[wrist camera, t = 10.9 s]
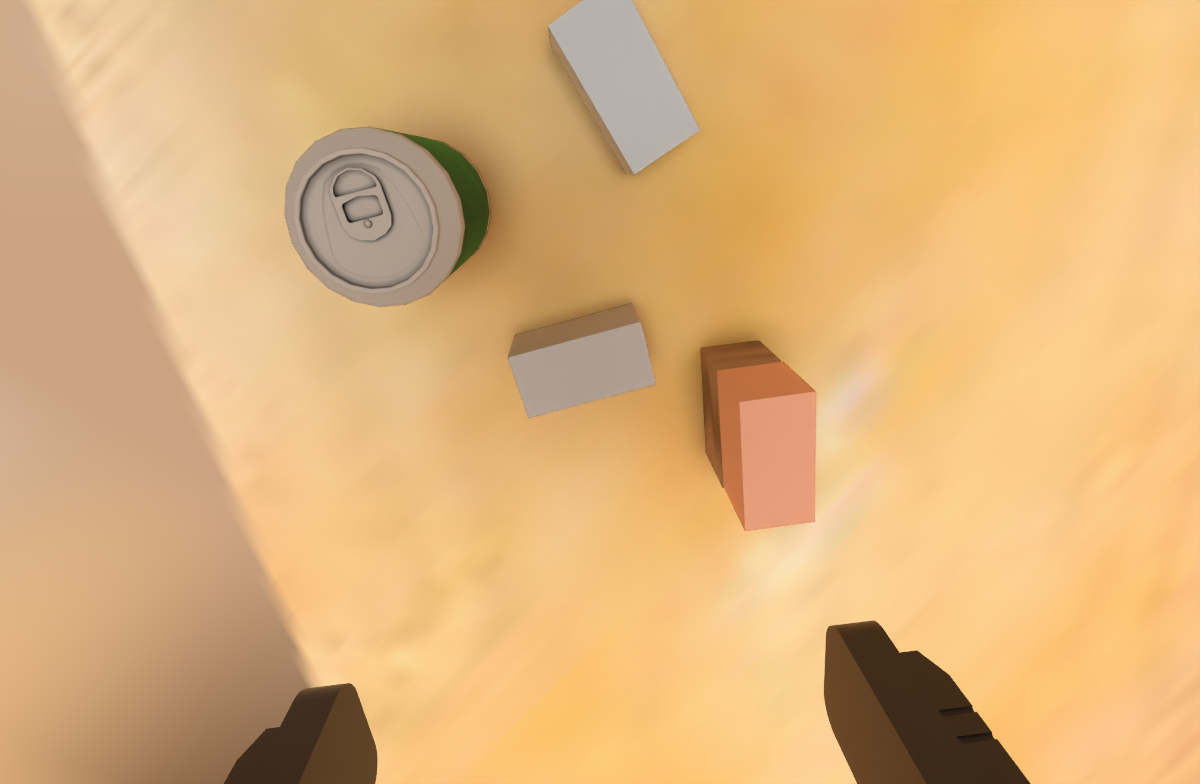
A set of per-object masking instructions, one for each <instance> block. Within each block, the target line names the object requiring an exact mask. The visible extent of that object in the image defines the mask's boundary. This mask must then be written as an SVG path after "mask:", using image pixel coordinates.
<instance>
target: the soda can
mask: <svg viewBox="0 0 1200 784" xmlns="http://www.w3.org/2000/svg"><path fill="white" fill-rule="evenodd" d="M490 214H491V210H490V203H489V196H488V190H487V188H486V186H485V184H484V182H483V180H482V178H481V175H480V173H479V171H478V170H477V169H476V168H475V167H474V165H473V164H472V163H471V162H470V161H469V160H468V159H467V158H466V156H465V155H464V154H462V153H461V152H459V151H457V150H456V149H454V148H452V147H451V146H449V145H448V144H446V143H443V142H439V141H435V140H431V139H427V138H423V137H418V136H413V135H408V134H403V133H398V132H393V131H388V130H383V129H378V128H373V127H361V128H349V129H340V130H338V131H336V132H334V133H332V134H330V135H328V136H326V137H323V138H321V139H319V140H317V141H315V142H314V143H313V144H312V145H311V146H310V147H309V149H308V150H307V151H306V152H305V153H304V154H303V155H302V156H301V157H300V158H299V159H298V160H297V161H296V164H295V166H294V168H293V171H292V173H291V176H290V178H289V181H288V183H287V186H286V197H285V219H286V222H287V226H288V230H289V234H290V237H291V241H292V244H293V246H294V247H295V249H296V251H297V252H298V254H299V256H300V257H301V259H302V261H303V262H304V264H305V265H306V267H307V269H308V270H310V271H311V272H312V273H313V274H314V275H315V276H316V277H317V278H318V279H319V280H320V281H321V282H322V283H323V284H324V285H325V286H326V287H327V288H329V289H331V290H333V291H334V292H336V293H338V294H340V295H342V296H344V297H346V298H348V299H349V300H351V301H353V302H358V303H363V304H368V305H372V306H377V307H385V306H396V305H406V304H409V303H411V302H413V301H415V300H418V299H420V298H422V297H424V296H427V295H429V294H430V293H431V292H432V291H433V290H435V289H436V288H437V287H438V286H439V285H440V284H441V283H442V282H443V281H444V280H446V279H447V278H448V277H449V276H450V275H451V274H452V273H453V272H454V271H455V270H457V269H458V268H459V267H460V266H461V265H462V264H463V263H464V262H465V261H466V260H467V259H468V258H470V257H471V256H472V255H473V254H474V253H475V252H476V251H477V250H478V249H479V247H480V245H481V243H482V241H483V240H484V238H485V236H486V234H487V232H488V226H489V220H490Z"/></svg>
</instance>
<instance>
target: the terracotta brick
mask: <svg viewBox="0 0 1200 784" xmlns="http://www.w3.org/2000/svg"><path fill="white" fill-rule="evenodd" d="M717 382H718V399H719V417H720V434H721V451H722V469H723V486H724V488H725V490H726V493H727V495H728V497H729V499H730V501H731V503H732V505H733V507H734V509H735V511H736V513H737V515H738V518H739V520H740V522H741V524H742V526H743V528H744V530H745V531H751V530H758V529H765V528H773V527H780V526H787V525H795V524H802V523H810V522H815V455H816V391H815V390H814V389H813V388H812V387H810V386H809V385H808V384H807V383H806V382H805V381H804V380H803V379H802V378H801V377H800V376H798V375H797V374H796V373H795V372H794V371H793V370H792V369H791V368H790V367H789V366H787V365H786V364H785V363H784V362H776V363H769V364H762V365H754V366H747V367H740V368H732V369H725V370H718V371H717Z"/></svg>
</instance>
